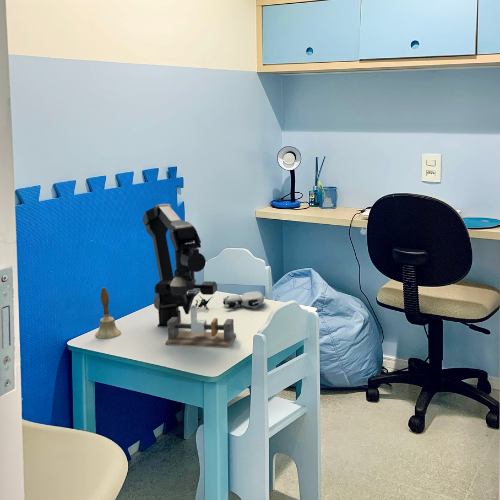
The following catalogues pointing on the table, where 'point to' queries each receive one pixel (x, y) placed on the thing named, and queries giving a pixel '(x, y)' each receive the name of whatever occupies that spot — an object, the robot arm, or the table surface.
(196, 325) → the white l-bracket
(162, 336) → the table surface
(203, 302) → the creature
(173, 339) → the rail board
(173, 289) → the robot arm
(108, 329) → the hand bell
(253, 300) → the robot toy
